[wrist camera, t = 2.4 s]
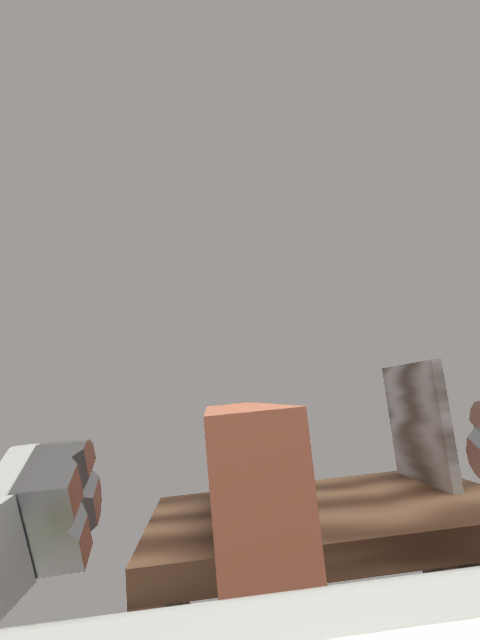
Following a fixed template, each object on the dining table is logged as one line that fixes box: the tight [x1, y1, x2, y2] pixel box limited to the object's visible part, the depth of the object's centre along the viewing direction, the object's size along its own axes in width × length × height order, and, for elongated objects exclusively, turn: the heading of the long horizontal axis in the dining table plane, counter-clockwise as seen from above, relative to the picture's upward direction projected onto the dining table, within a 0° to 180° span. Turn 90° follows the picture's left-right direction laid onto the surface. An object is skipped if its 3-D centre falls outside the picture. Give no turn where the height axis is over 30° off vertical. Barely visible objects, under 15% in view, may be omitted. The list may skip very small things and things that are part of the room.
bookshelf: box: [125, 359, 480, 612], centre depth 33 cm, size 18×26×36 cm
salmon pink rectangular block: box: [204, 402, 327, 600], centre depth 28 cm, size 24×4×8 cm, turn 4°
